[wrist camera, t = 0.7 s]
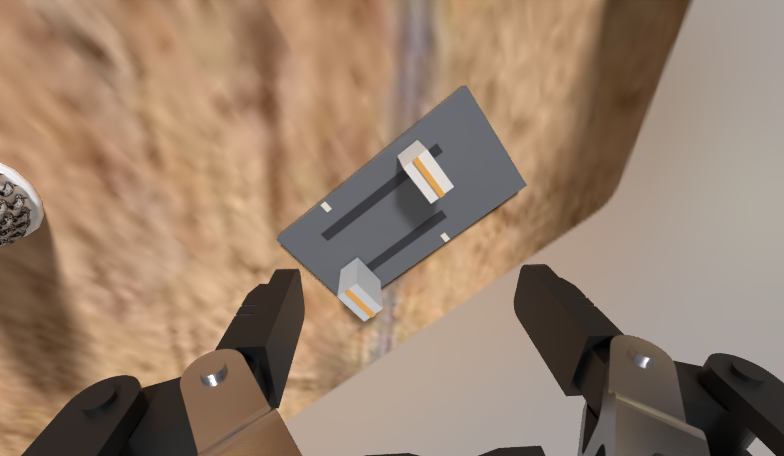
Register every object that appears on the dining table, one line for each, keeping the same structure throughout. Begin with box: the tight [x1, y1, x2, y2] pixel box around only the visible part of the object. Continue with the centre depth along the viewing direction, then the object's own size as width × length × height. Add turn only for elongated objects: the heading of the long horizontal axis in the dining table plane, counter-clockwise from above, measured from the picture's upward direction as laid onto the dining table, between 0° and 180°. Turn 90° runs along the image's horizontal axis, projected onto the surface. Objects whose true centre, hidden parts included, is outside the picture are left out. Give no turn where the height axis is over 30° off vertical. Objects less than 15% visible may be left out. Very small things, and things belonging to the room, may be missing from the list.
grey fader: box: [337, 257, 383, 321], centre depth 33 cm, size 2×4×5 cm, turn 38°
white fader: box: [398, 140, 454, 204], centre depth 28 cm, size 2×4×5 cm, turn 38°
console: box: [276, 86, 527, 296], centre depth 33 cm, size 24×12×2 cm, turn 128°
